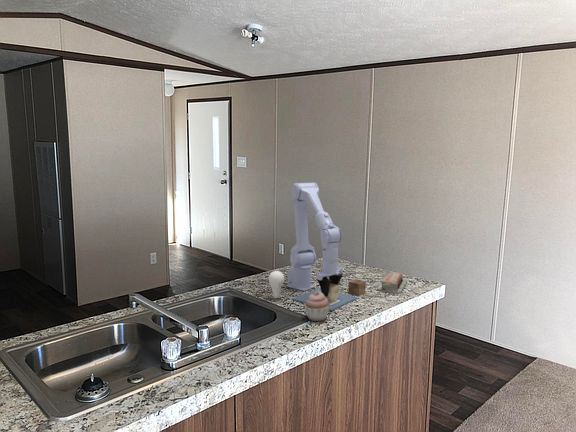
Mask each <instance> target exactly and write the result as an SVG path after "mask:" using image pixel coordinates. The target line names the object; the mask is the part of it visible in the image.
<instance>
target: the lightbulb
mask: <svg viewBox="0 0 576 432" xmlns="http://www.w3.org/2000/svg"><path fill="white" fill-rule="evenodd" d="M268 282H269V284H270V287H271V290H272V291H271V292H272V298H274V299H275V300H276V299H278V298H280V293H281V288H282V286H283V284H284V282H285V275H284V274H283V273H282V271H279V270H274V271H272V272H270V274H269V275H268Z"/></svg>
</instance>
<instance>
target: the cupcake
mask: <svg viewBox="0 0 576 432" xmlns="http://www.w3.org/2000/svg"><path fill="white" fill-rule="evenodd" d="M303 305H304V309H305V310H306V315H307V318H308V319H309V321H315V322H322V321H325V320H326V318H327V315H328V314H329V309H330V307H331V306H330V304H329V303H328V299H327V298H326V297H325V296H324V294H323V293H321V292H319V291H316V292H315V293H314V294H311V295H310V296H309V297H308V299H307V301H306V303H303Z"/></svg>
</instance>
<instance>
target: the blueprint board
mask: <svg viewBox="0 0 576 432" xmlns="http://www.w3.org/2000/svg"><path fill="white" fill-rule="evenodd" d="M316 291H319V292H320V287H319V288H316V289H314V290H311V291H308V292H306V293H304V294H300V295H299V296H295V297H293V300H292V301H295V302H299V303H301V304H302V303H303V304H305V303H306V301H307V299H308V297H309V296H310V295H311V294H314V293H315V292H316ZM358 297H359V296H358ZM358 297H357V296H355V295H351V294H345V293H341V292H339V298H337V299H335V300H332V301H329V300H328V303H329V304H330V306H331V307H330V309H329V310H328V312H332V311H335V310H337V309H340V308H341V307H344V306H345V305H348V304H349V303H352V302H354V301H356V300H358Z"/></svg>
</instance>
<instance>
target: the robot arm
mask: <svg viewBox="0 0 576 432" xmlns="http://www.w3.org/2000/svg"><path fill="white" fill-rule="evenodd" d="M319 195H320V189H319V186H318V184H317V183H316V182H313V181H312V182H299V183H298V182H294V183H293V184H292V186H291V188H290V197H291V203H292V204H293V207H294V209H293V210H294V221H295V222H294V223H295V237H296V238H295V239H296V240H295V241H296V242H295V245H293V247H292V248H290V255H289V261H290V264H291V265H290V266H289V269H288V271H287V272H288V274H287V281H288V282H287V285H286V287H288V288H291V289H295V290H299V291H301V292H302V291H303V292H305V291H308V290H311V289H313V288H315V287H316V285H314V284H312V271H313V270H312V268H314V265H315V264H316V262H317V255H316V250H315V246H313V245H312V244H310V240H309V239H310V238H309V227H308V226H309V225H308V224H309V223H308V211H307V209H308V208H307V207H308V205H309V206H310V208H311V209H312V211H313V213H314V216H315V218H314V221H315V223H316V226H317V227H318V229H319V231H320V235H319V239H320V242H321V248H322V267H321V268H322V269H321V270H320V272H318V273H317V274H316V277H315V279H316V281H317V284H318V285H319V286H320V287H319V288H321V292H322V293H323V294H324V296H326V297H327V296H328V292H329V286H330V283H332V284H336V285H339V284H340V281H341V280H342V278H343V274H341V273H343V267H342V266H338V265H339V262H338V261H339V243H340V242H341V241H342V238H343V233H342V230H341V228H340V227H338V226H337V225H335V224H334V222H333V220H332V218H331V216H330V214H329V213H328V212H327V211H325V210H324V208H323V205H322V202H321V199H320V197H319Z"/></svg>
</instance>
